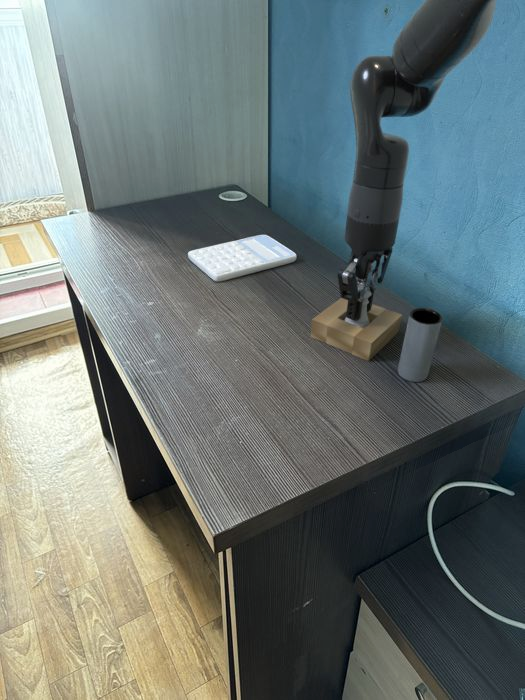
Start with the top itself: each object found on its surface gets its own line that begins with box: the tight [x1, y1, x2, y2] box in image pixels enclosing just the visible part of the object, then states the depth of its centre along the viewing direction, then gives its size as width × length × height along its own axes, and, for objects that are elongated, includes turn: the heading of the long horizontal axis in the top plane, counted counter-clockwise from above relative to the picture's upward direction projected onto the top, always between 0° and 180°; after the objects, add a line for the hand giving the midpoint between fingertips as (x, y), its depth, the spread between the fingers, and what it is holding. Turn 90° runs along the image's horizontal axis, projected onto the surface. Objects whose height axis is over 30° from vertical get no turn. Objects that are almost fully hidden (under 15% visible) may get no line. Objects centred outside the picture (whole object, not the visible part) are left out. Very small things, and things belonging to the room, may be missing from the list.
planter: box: [397, 307, 443, 383], centre depth 76 cm, size 4×4×10 cm
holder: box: [310, 297, 403, 362], centre depth 87 cm, size 11×11×4 cm
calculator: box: [187, 234, 298, 283], centre depth 110 cm, size 13×20×2 cm, turn 122°
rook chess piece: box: [344, 287, 372, 328], centre depth 85 cm, size 4×4×8 cm
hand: (358, 313), depth 85 cm, fingers closed on rook chess piece, 3 cm apart
